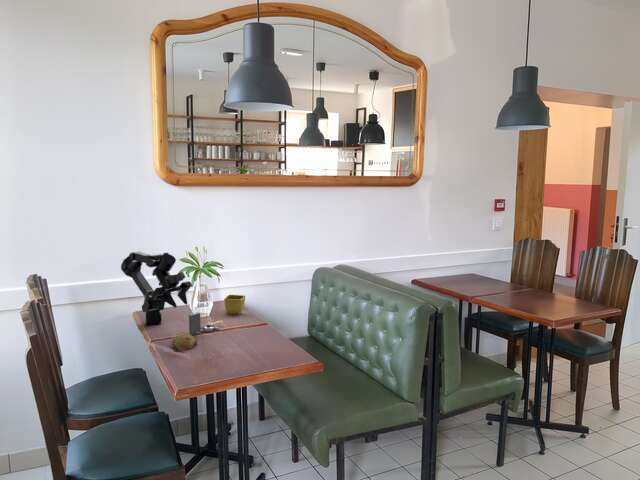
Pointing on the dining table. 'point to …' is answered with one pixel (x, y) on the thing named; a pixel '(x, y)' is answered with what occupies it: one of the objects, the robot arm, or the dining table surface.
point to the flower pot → (234, 303)
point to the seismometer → (197, 328)
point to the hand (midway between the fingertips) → (181, 305)
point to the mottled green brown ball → (183, 342)
